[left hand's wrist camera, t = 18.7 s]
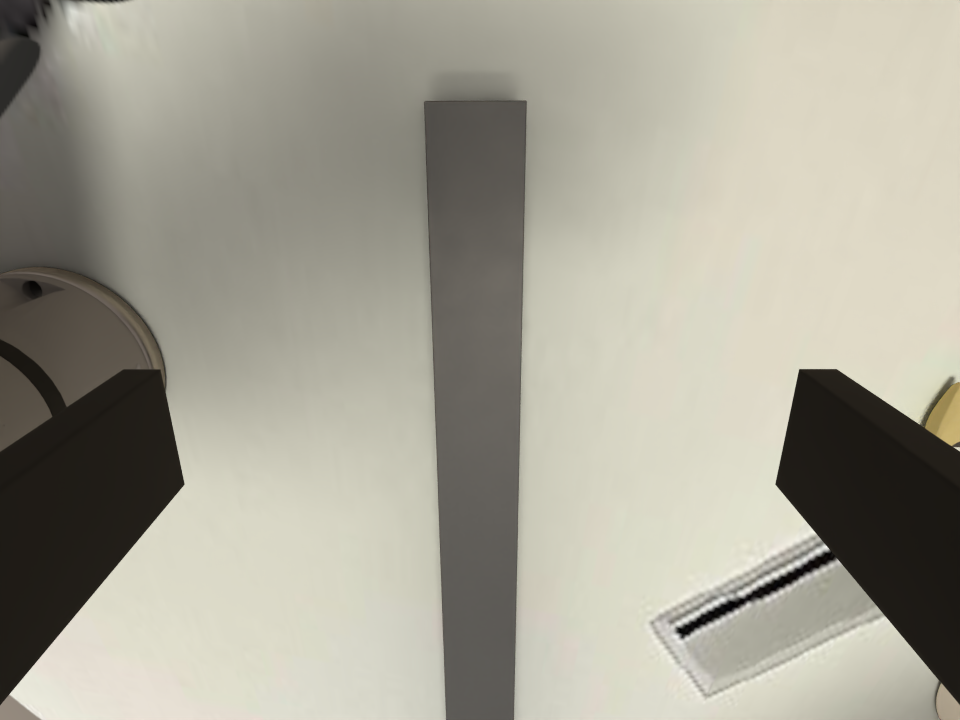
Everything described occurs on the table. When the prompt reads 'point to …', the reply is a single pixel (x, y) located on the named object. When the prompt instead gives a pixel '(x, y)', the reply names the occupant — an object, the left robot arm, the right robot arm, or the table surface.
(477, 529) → the post
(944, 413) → the toy gun
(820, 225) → the table surface
